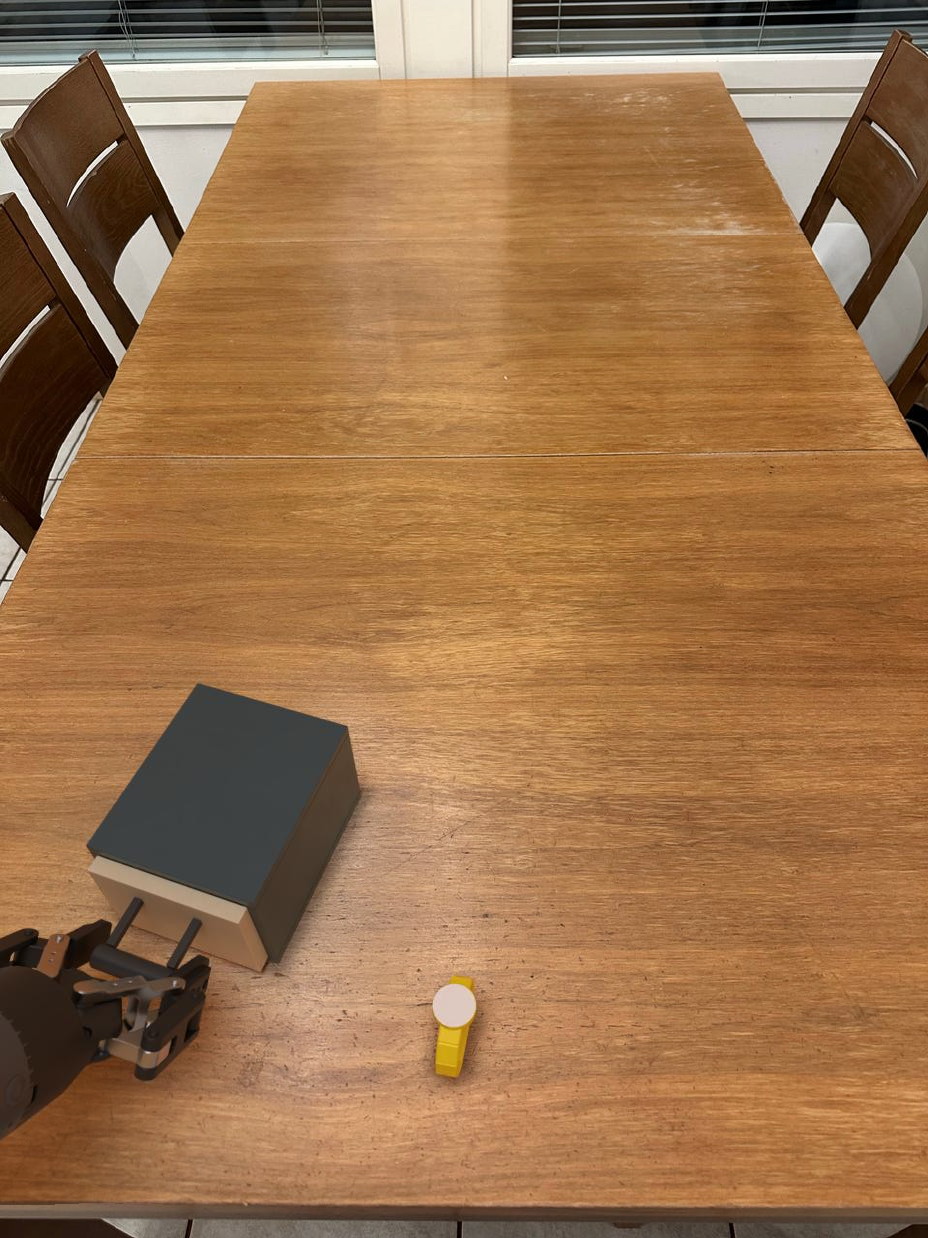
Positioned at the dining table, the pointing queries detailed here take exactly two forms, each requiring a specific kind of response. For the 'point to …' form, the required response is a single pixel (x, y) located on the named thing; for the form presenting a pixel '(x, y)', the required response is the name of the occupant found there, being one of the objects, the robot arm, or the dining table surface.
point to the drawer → (170, 922)
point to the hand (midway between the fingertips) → (153, 952)
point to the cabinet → (238, 806)
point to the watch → (453, 1023)
